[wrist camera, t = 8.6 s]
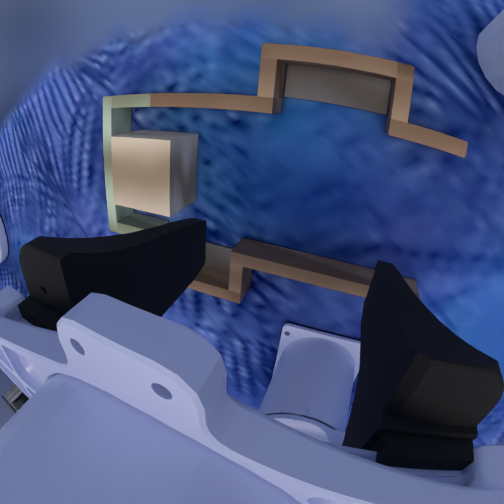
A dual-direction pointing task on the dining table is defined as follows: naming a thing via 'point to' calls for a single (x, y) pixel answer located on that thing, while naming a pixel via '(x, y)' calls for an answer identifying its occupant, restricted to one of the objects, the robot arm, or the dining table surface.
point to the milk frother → (15, 398)
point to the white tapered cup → (492, 52)
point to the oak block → (154, 170)
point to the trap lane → (271, 101)
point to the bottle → (3, 243)
